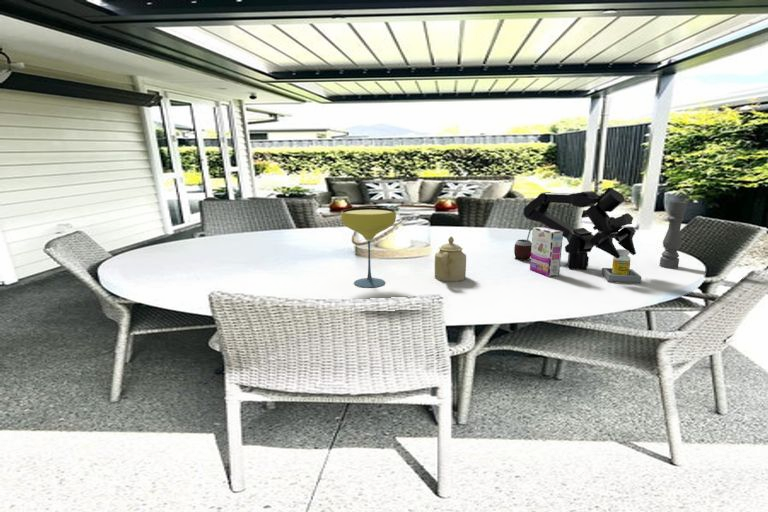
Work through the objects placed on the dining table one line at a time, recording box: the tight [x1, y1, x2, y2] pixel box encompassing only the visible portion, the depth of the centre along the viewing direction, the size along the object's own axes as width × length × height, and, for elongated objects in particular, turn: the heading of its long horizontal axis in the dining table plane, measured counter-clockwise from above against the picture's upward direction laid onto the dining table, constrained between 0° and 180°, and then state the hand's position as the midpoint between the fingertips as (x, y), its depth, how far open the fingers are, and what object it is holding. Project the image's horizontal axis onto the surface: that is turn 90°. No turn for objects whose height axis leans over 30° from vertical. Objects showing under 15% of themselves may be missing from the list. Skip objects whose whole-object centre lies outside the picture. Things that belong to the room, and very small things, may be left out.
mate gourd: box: [513, 222, 536, 262], centre depth 182 cm, size 8×8×15 cm
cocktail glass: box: [340, 206, 397, 289], centre depth 149 cm, size 18×18×25 cm
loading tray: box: [600, 267, 642, 285], centre depth 155 cm, size 10×10×2 cm
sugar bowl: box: [434, 235, 467, 283], centre depth 154 cm, size 15×11×15 cm
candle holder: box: [659, 200, 688, 270], centre depth 168 cm, size 6×6×25 cm
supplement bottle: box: [611, 248, 631, 275], centre depth 154 cm, size 5×5×10 cm
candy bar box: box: [529, 226, 564, 278], centre depth 161 cm, size 11×5×16 cm, turn 19°
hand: (626, 256), depth 152 cm, fingers open, 9 cm apart
